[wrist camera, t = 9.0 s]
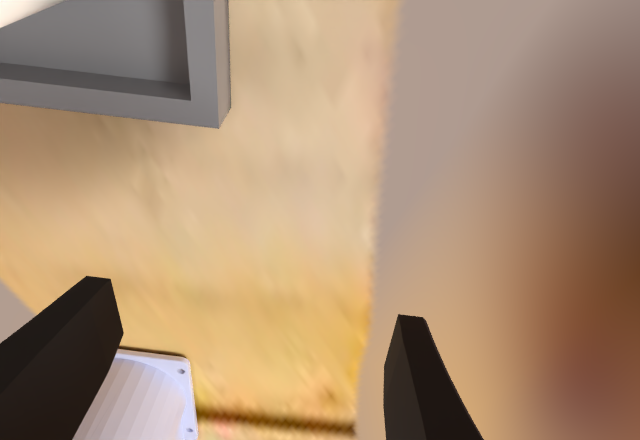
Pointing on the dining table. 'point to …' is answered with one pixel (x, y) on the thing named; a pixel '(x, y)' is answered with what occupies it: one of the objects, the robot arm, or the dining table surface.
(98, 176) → the dining table surface
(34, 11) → the salt shaker
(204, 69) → the gray tray
